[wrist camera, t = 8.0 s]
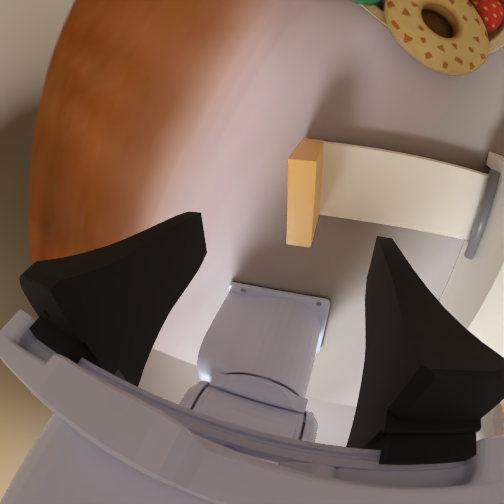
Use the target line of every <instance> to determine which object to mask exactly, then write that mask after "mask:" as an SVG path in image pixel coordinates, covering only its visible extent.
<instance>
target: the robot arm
mask: <svg viewBox="0 0 504 504" xmlns="http://www.w3.org/2000/svg"><path fill="white" fill-rule="evenodd" d="M206 253H207V250H206V243H205V237H204V230H203V224H202V217H201V213H197V212H186V213H183V214H180V215H177V216H175V217H173V218H170V219H168V220H166V221H164V222H162V223H160V224H157V225H155V226H153V227H151V228H149V229H147V230H144V231H142V232H140V233H138V234H135V235H133V236H131V237H129V238H126V239H124V240H122V241H119V242H116V243H114V244H111V245H108V246H105V247H102V248H99V249H95V250H92V251H89V252H85V253H82V254H78V255H73V256H69V257H64V258H58V259H51V260H44V261H37V262H35V263H34V264H32V265H31V266H30V267H29V268H28V269H27V270H26V271H25V272H24V273H23V274H22V275H21V276H20V284H21V287H22V289H23V291H24V293H25V295H26V297H27V298H28V300H29V302H30V303H31V305H32V307H33V308H34V310H35V311H36V313H37V315H38V316H39V318H38V319H37V320H36V321H35V320H34V319H33V318H32V317H31V316H29V315H28V314H27V313H25V312H24V311H23V310H19V311H18V312H17V313H16V314H15V315H14V316H13V317H12V319H11V320H10V321H9V322H8V323H7V324H6V325H5V326H4V328H3V329H2V330H1V331H0V359H1V360H2V361H3V362H4V363H5V364H6V365H7V366H8V367H9V369H11V371H12V372H13V373H14V374H15V375H16V376H17V377H18V378H19V379H20V380H21V381H22V382H23V383H24V384H25V385H26V386H27V387H28V388H29V389H30V391H31V392H32V393H33V394H34V395H35V396H36V397H37V398H38V399H39V400H40V401H41V402H42V403H43V404H44V405H46V406H47V407H48V408H49V409H50V410H51V411H52V412H54V414H53V415H52V417H51V418H50V420H49V421H48V423H47V424H46V426H45V427H44V429H43V430H42V432H41V434H40V435H39V437H38V438H37V440H36V441H35V443H34V445H33V446H32V448H31V449H30V451H29V453H28V454H27V456H26V458H25V459H24V461H23V463H22V464H21V466H20V468H19V470H18V471H17V473H16V475H15V476H14V478H13V480H12V482H11V483H10V485H9V487H8V489H7V491H6V493H5V494H4V496H3V498H2V500H1V502H0V504H504V435H500V436H494V437H487V438H483V439H480V440H478V441H476V432H478V431H480V429H481V418H482V417H483V416H485V415H486V414H487V413H488V412H490V411H491V410H492V409H493V408H494V407H495V406H497V405H498V404H499V403H500V402H501V401H502V400H503V399H504V357H502V356H501V355H499V354H498V353H497V352H495V351H494V350H493V349H491V348H490V347H488V346H487V345H486V344H484V343H483V342H482V341H480V340H479V339H478V338H477V337H476V336H474V335H473V334H472V333H471V332H470V331H468V330H467V329H466V328H465V327H464V326H463V325H462V324H461V323H460V322H459V321H458V320H457V319H455V318H454V317H453V316H452V315H451V314H450V313H449V312H448V311H447V310H446V309H445V308H444V306H443V305H442V304H441V303H440V302H439V301H438V300H437V299H436V298H435V296H434V295H433V294H432V293H431V292H430V291H429V289H428V288H427V287H426V286H425V284H424V283H423V282H422V280H421V279H420V278H419V276H418V275H417V274H416V272H415V271H414V270H413V268H412V267H411V265H410V264H409V263H408V261H407V260H406V258H405V257H404V255H403V254H402V252H401V251H400V249H399V248H398V246H397V245H396V243H395V242H394V241H393V239H391V238H385V237H379V236H377V238H376V243H375V247H374V252H373V256H372V260H371V264H370V268H369V272H368V276H367V283H366V295H365V318H366V350H365V362H364V369H363V376H362V382H361V387H360V393H359V398H358V403H357V408H356V412H355V416H354V421H353V425H352V429H351V432H350V436H349V439H348V443H347V446H346V447H341V446H333V445H326V444H319V443H315V439H316V434H317V420H316V419H315V417H314V414H313V413H312V412H309V411H305V409H306V405H307V402H308V400H307V398H305V395H306V391H307V387H308V383H309V379H310V375H311V371H312V366H313V362H314V358H315V353H318V352H319V351H320V348H321V343H322V339H323V335H324V331H325V326H326V322H327V317H328V312H329V307H330V301H329V300H328V299H325V298H319V297H313V296H307V295H302V294H296V293H290V292H285V291H279V290H273V289H268V288H263V287H257V286H252V285H247V284H241V283H236V282H231V283H230V285H229V294H228V295H227V297H226V299H225V301H224V302H223V304H222V306H221V308H220V310H219V311H218V313H217V315H216V317H215V319H214V320H213V322H212V324H211V326H210V328H209V329H208V331H207V333H206V335H205V337H204V339H203V342H202V345H201V348H200V351H199V355H198V361H197V371H198V376H199V378H200V380H201V381H200V382H199V383H198V384H195V385H193V386H192V387H191V388H190V389H189V390H188V391H187V392H186V394H185V395H184V397H183V398H182V400H181V402H180V404H179V405H178V404H176V403H173V402H171V401H168V400H166V399H163V398H161V397H159V396H156V395H154V394H152V393H149V392H147V391H145V390H143V389H141V388H139V387H138V385H139V381H140V379H141V376H142V373H143V370H144V367H145V364H146V362H147V359H148V357H149V354H150V351H151V349H152V347H153V345H154V342H155V340H156V338H157V336H158V334H159V331H160V330H161V328H162V326H163V324H164V322H165V320H166V318H167V316H168V314H169V313H170V311H171V309H172V308H173V306H174V305H175V303H176V302H177V300H178V299H179V297H180V296H181V295H182V293H183V292H184V290H185V289H186V287H187V286H188V285H189V283H190V282H191V280H192V279H193V277H194V276H195V274H196V273H197V271H198V270H199V268H200V266H201V264H202V262H203V260H204V258H205V255H206ZM243 288H244V289H245V290H244V289H243ZM317 302H320V303H317Z"/></svg>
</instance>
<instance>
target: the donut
mask: <svg viewBox="0 0 504 504" xmlns="http://www.w3.org/2000/svg"><path fill="white" fill-rule="evenodd" d="M503 430H504V420H503V413H502V408H501V404H500V403H499V404H498V405H497V406H495V407H494V408H493V409H492V410H491V411H490V412H488V413H487V414H486V415H485V416H483V417H482V418H481V429H480V431H478V432H476V441H478V440H480V439H483V438H487V437H494V436H500V435H503Z"/></svg>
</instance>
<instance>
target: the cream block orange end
mask: <svg viewBox="0 0 504 504" xmlns="http://www.w3.org/2000/svg"><path fill="white" fill-rule="evenodd" d="M488 176H489V174H486V173H483V172H480V171H476V170H473V169H469V168H466V167H462V166H459V165H455V164H451V163H447V162H443V161H439V160H435V159H430V158H426V157H421V156H416V155H412V154H407V153H401V152H396V151H391V150H385V149H379V148H373V147H366V146H359V145H352V144H344V143H335V142H326V141H325V140H316V139H305V138H303V139H302V141H301V142H300V143H299V145H298V146H297V147H296V149H295V150H294V151H293V153H292V154H291V155H290V157H289V158H288V196H287V240H286V244H289V245H295V246H302V247H309V248H311V244H312V241H313V237H314V233H315V229H316V225H317V221H318V217H319V215H325V216H332V217H339V218H346V219H352V220H359V221H365V222H372V223H378V224H384V225H390V226H396V227H402V228H407V229H413V230H418V231H424V232H429V233H434V234H440V235H445V236H450V237H455V238H460V239H464V240H470V237H471V234H472V231H473V228H474V225H475V222H476V219H477V216H478V213H479V210H480V206H481V203H482V199H483V196H484V192H485V188H486V184H487V180H488Z"/></svg>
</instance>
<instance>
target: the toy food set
mask: <svg viewBox="0 0 504 504" xmlns="http://www.w3.org/2000/svg"><path fill="white" fill-rule="evenodd" d="M350 1H352V2H355V3H358V4H360V5H361V6H362V7H363V8H364V9H365V10H366V11H367V12H369V13H370V14H371V15H372V16H373V17H375V18H376V19H377V20H378V21H380V22H381V23H383V24H384V25H385V26H387V27H388V28H389V29H390V31H391V33H392V35H393V36H394V38H395V39H396V41H397V42H398V43H399V44H400V45H401V46H402V48H403V49H404V50H405V51H406V52H407V53H409V54H410V55H411V56H412V57H413V58H415V59H416V60H417V61H419V62H420V63H422V64H423V65H425V66H427V67H429V68H431V69H433V70H435V71H437V72H440V73H443V74H449V75H462V74H467V73H469V72H472V71H474V70H476V69H477V68H479V67H480V66H481V65H482V64H483V63H484V61H485V59H486V57H487V54H490V53H493V52H495V51H497V50H498V49H500V48H502V47H503V46H504V0H350Z"/></svg>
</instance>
